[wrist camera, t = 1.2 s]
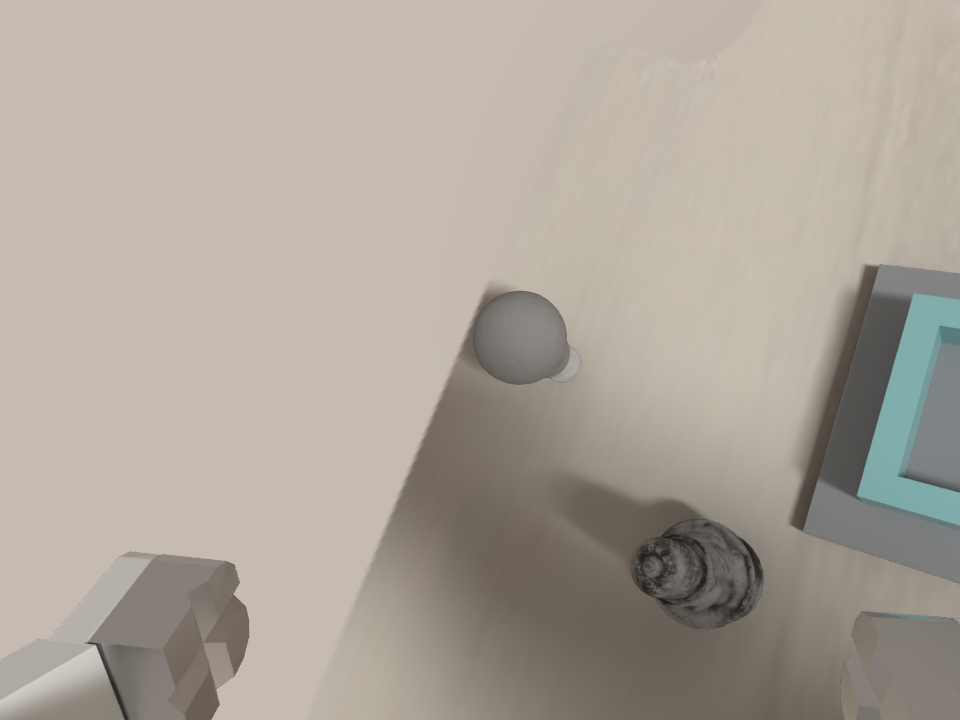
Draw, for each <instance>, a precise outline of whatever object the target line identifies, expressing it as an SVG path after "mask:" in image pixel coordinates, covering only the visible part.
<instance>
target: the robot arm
mask: <svg viewBox="0 0 960 720" xmlns="http://www.w3.org/2000/svg"><path fill="white" fill-rule="evenodd" d="M239 583H240V581H239V578H238V575H237V571H236V568H235V565H234V564H232V563H230V562H227V561H220V560H211V559H201V558H192V557H182V556H173V555H164V554H163V555H156V554H147V553H138V552H128V553H126V554H124V555H122V556H120V557H118V559H117V560H116V561H115V562H114V563H113V564H112V565H111V567H110V568H109V569H108V570H107V571H106V573H105V574H104V575H103V576H102V577H101V578H100V580H99V581H98V582H97V583H96V584H95V585H94V587H93V588H92V589H91V590H90V591H89V593H88V594H87V595H86V596H85V597H84V598H83V600H82V601H81V602H80V603H79V604H78V606H77V607H76V608H75V609H74V610H73V612H72V613H71V614H70V615H69V616H68V617H67V619H66V620H65V621H64V622H63V623H62V624H61V626H60V627H59V628H58V629H57V630H56V632H55V633H54V634H53V635H52V636H51V637H50V639H49V640H45V639H37V640H35V641H33V642H32V643H30V644H28V645H26V646H24V647H23V648H21V649H19V650H17V651H15V652H14V653H12V654H10V655H8V656H6V657H4V658H2V659H1V660H0V720H211V719H212V718H213V716H214V714H215V712H216V710H217V708H218V706H219V700H218V695H217V690H216V689H217V688H219V687H220V686H222V685H223V684H224V683H226V682H227V681H229V680H230V679H231V678H233V677H234V676H235V674H236V673H237V671H238V669H239V667H240V665H241V663H242V661H243V659H244V655H245V651H246V647H247V643H248V638H249V618H248V613H247V609H246V606H245V605H244V604H243V603H242V602H241V601H240V600H239V599H238V598H237V597H236V596H235V595H234V594H233V593H234V592H235V590H236V588H237V587H238V585H239ZM852 637H853V640H854V642H855V645H856V648H857V652H856V653H855V654H853V655H852V656H850V657H849V658H848V659H846V660H845V663H844V668H843V672H842V677H841V706H842V712H843V717H844V720H960V618H950V619H949V618H946V617H933V616H919V615H905V614H891V613H877V612H861V613H860V614H859V616H858V617H857V618H856V620H855V624H854V628H853V631H852Z"/></svg>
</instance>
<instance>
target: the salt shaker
mask: <svg viewBox="0 0 960 720" xmlns="http://www.w3.org/2000/svg"><path fill="white" fill-rule="evenodd" d="M631 573H632V578H633V580H634V582H635V584H636V585H637V586H638V587H639V588H640V590H641V591H643V592H644V593H646V594H647V595H649V596H652V597H655V598H656V600H657V602H658V604H659V605H660V606H661V607H662V609H663V610H664V611H665V612H666V613H667V614H668V615H669V616H670V617H672V618H673V619H675V620H676V621H678V622H679V623H680V624H683V625H686V626H689V627H692V628H695V629H713V628H718V627H723V626H725V625H726V624H728V623H730V622H732V621H736V620H738V619H740V618H742V617H744V616H746V615H747V614H748V613H749V612H750V611H751V610H752V609H753V608H754V607H755V606H756V604H757V602H758V600H759V598H760V597H761V593H762V589H763V584H764V583H763V570H762V567H761V564H760V561H759V558H758V557H757V555H756V553H755V552H754V550H753V549H752V548H751V547H750V546H749V545H748V544H747V543H746V542H745V541H744V540H743V539H741V538H740V537H738V536H736V535H735V534H734V533H733V532H732V531H731V530H729V529H728V528H726V527H724V526H722V525H721V524H719V523H716V522H712V521H708V520H705V519H691V520H687V521H684V522H680V523H677V524H676V525H674V526H672V527H671V528H669V529H667V530H666V531H665V532H664V533H663V534H662V536H661V537H660V538H652V539H649V540H647V541H645V542H643V543H642V544H641V545H640V546H639V547H638V548H637V549H636V550H635V552H634V554H633V556H632V560H631Z"/></svg>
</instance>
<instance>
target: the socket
mask: <svg viewBox="0 0 960 720" xmlns="http://www.w3.org/2000/svg"><path fill="white" fill-rule="evenodd" d="M803 532H804V533H807V534H810V535H813V536H816V537H819V538H822V539H825V540H828V541H831V542H834V543H837V544H840V545H843V546H846V547H849V548H852V549H856V550H859V551H862V552H865V553H868V554H871V555H874V556H877V557H880V558H883V559H886V560H889V561H892V562H895V563H898V564H901V565H904V566H908V567H911V568H914V569H917V570H920V571H923V572H926V573H929V574H932V575H935V576H938V577H941V578H944V579H947V580H950V581H953V582H956V583H960V274H959V273H950V272H942V271H933V270H925V269H916V268H908V267H899V266H891V265H882V264H880V265H879V269H878V272H877V276H876V279H875V282H874V286H873V289H872V293H871V296H870V300H869V303H868V307H867V310H866V314H865V317H864V321H863V324H862V328H861V331H860V335H859V338H858V341H857V345H856V348H855V352H854V355H853V359H852V362H851V366H850V369H849V373H848V376H847V380H846V383H845V387H844V390H843V394H842V397H841V401H840V404H839V407H838V411H837V414H836V418H835V421H834V425H833V428H832V432H831V435H830V439H829V442H828V446H827V449H826V453H825V456H824V460H823V463H822V466H821V470H820V473H819V477H818V480H817V484H816V487H815V491H814V494H813V498H812V501H811V505H810V508H809V512H808V515H807V519H806V522H805V526H804V529H803Z"/></svg>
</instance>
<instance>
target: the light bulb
mask: <svg viewBox="0 0 960 720" xmlns="http://www.w3.org/2000/svg"><path fill="white" fill-rule="evenodd" d="M473 342H474V348H475V352H476V356H477V358H478V360H479V361H480V363H481V365H482V366H483V367H484V369H485V370H486V371H487V372H488V373H489V374H490V375H492V376H493V377H494V378H496V379H498V380H501V381H503V382H505V383H510V384H516V385H520V384H530V383H534V382H537V381H539V380H541V379H543V378H551V379H553V380H554V381H557V382H560V383H564V382H568V381H570V380H572V379H573V378H574V377H575V376H576V375H577V374H578V372H579V370H580V367H581V357H580V354H579V353H578V352H577V351H576V350H575V349H574V348H572V347H571V346H569V345H568V342H567V332H566V326H565V324H564V321H563V318H562V316H561V315H560V313H559V311H558V310H557V309H556V307H555V306H554V305H553V304H552V303H551V302H550V301H549V300H547V299H546V298H544V297H542V296H541V295H539V294H536V293H532V292H528V291H514V292H509V293H506V294H503V295H500V296H499V297H497V298H495V299H493V300H492V301H491V302H490V303H488V304H487V305H486V306H485V308H484V309H483V310H482V311H481V313H480V315H479V316H478V319H477V321H476V324H475V327H474V335H473Z"/></svg>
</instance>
